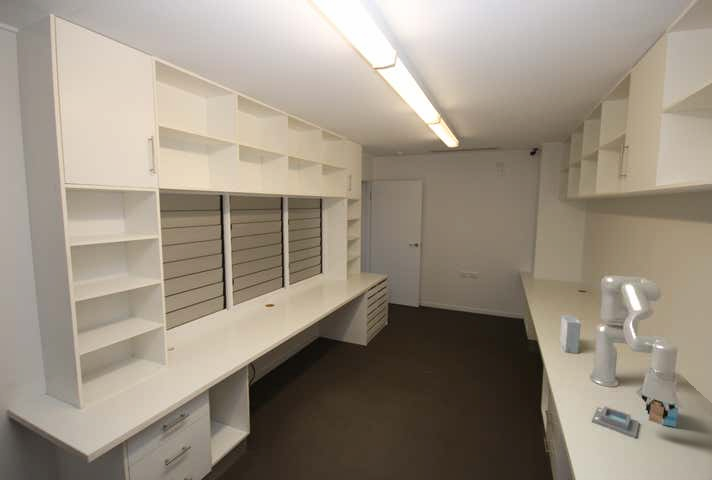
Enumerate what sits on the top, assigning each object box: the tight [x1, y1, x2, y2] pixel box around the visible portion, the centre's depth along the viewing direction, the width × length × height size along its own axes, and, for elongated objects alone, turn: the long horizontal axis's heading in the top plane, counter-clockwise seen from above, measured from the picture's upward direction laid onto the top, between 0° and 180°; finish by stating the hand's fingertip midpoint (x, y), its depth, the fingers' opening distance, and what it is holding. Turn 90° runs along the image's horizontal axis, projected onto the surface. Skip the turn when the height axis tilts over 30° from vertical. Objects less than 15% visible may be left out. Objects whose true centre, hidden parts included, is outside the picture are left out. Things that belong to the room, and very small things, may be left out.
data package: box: [662, 402, 679, 428], centre depth 152 cm, size 12×4×12 cm, turn 156°
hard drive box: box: [559, 314, 582, 354], centre depth 225 cm, size 16×8×20 cm, turn 161°
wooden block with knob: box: [648, 399, 664, 426], centre depth 140 cm, size 4×4×8 cm
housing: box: [591, 406, 640, 439], centre depth 150 cm, size 13×15×4 cm
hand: (656, 414), depth 141 cm, fingers closed on wooden block with knob, 4 cm apart
